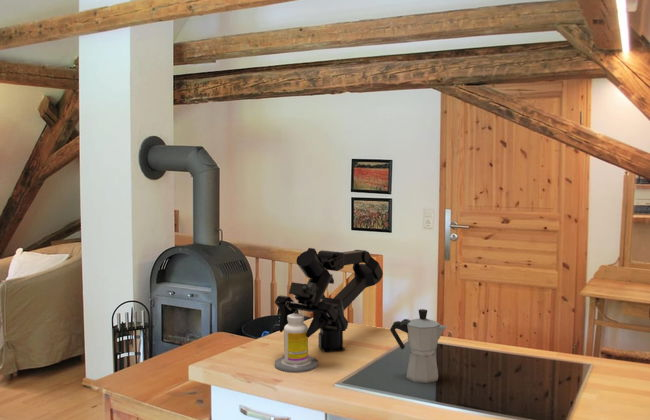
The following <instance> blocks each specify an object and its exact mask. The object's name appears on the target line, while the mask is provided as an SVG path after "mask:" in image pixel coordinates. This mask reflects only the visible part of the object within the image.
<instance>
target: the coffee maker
mask: <svg viewBox="0 0 650 420" xmlns="http://www.w3.org/2000/svg"><path fill="white" fill-rule="evenodd" d="M427 315H428V309H424V308H420V309H418V316H419V318H414V319H409V318H404V319H402V320H401V321H399V320H397V321H393V323H392V324H391V327H390V328H389V331H390V332H391V334H392V336H393V338H394V339H395V341H396V343H397V345H398V346H399V347H400V349H401V351H403V350H404V349H405V348H406V346H405V344H404V343H403V340H402V339H401V337H400V336H399V334H398V332H397V331H396V330H400V331H401V332H404V333H406V334H407V340H408V341H407V342H408V347H409V348H410V351H409V358H408V365H407V369H406V377H405V378H406V379H408V380H409V381H411V382H413V383H421V384H423V383H424V384H430V383H434V382H438V381H439V380H438V379H439V370H438V364H437V357H436V352H435V350H436V349H437V348H438V343H439V342H438V341H440V340H439V339H440V338H441V336H442V334H443V333H444V331H445V330H446V329H448V326H445V325H443V324H440V323H439V322H438V321H436V320H434V319H428V318H427Z"/></svg>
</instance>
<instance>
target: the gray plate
mask: <svg viewBox="0 0 650 420" xmlns="http://www.w3.org/2000/svg"><path fill="white" fill-rule="evenodd" d="M318 366H319V361H318V359H317V358H316V357H314V356H312V355H308V360H307V362H305V363H302V364H289V363H287V362H286V361H285V360H284V355H283V356H280V357H278V358H276V359H275V361H274V368H275V369H276V370H278V371H281V372H284V371H285V373H286V372H287V373H306V372H309V371H313V370H315V369H316V368H318Z"/></svg>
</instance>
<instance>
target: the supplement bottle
mask: <svg viewBox="0 0 650 420" xmlns="http://www.w3.org/2000/svg"><path fill="white" fill-rule="evenodd" d="M287 320H288V324H287V325H285V327H284V330H283V354H284V355H283V356H284V360H285V361H286V362H287V363H289V364H302V363H305V362H307V360H308V356H309V345H308V344H309V337H306V333H307V330H308V328H309V327H308V325H307V324H305V323H304V321H305V315H304V314H302V313H293V314H290V315H288V316H287Z"/></svg>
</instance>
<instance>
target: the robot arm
mask: <svg viewBox="0 0 650 420" xmlns="http://www.w3.org/2000/svg"><path fill="white" fill-rule="evenodd" d="M296 264H297V265H298V267H299V268H300V270H301V272H302V273H303V274H304V276H305V277H306V278H308V280H307V283H299V282H292V281H291V284H290V287H289V290H288V294H289V295H294V299H295V300H296V301H297V302H296V301H295V302H294V300H293V299H292V298H291V297H290V296H286V295H277V297H276V299H275V300H274V304H275V305H276V307H277V308H278V309H279V311H280V320H279V326H278V327H279V328H278V331H279V332H280V333H282V332H284V327H285V325H287V324H288V320H287V316H288V315H290V314H296V311H304V312H309V313H312V317H313V318H312V320H311V322H310V324H309V327H308V330H307V333H306V337H308V338H309V337H311V336H313V335H314V334H315V333H317V331H319V332H318V345H317V346H318V347H319V349H321V350H322V352H323V353H330V352H337V351H341V352H342V351H345V350H346V348H345V347H344V346H343V345H344V332H345V331H346V330H347V329H348V326H349V321H348V319H347V318H346V317H345V311H346V309H348V307H349V306H350V305H351V304H352V303H353V302H354V301H355V300H356V299H357V297H358V296H359V295H360V294H361V293H362V292H364V290H366V288H370V287H373V286H375V285H377V284H378V283H379V282H380V281H381V280H382V278H383V275H384V274H383V273H384V272H383V269H382V267H381V265H380V263H379V262H378V260H376V259H375V258H374V257H372V256H371V254H370V252H369V251H367V250H365V249H364V250H363V249H354V250H350V251H342V252H341V251H333V250H332V251H331V250H318V252H317V250H316V249H315V247H313V248H312V247H308V249H307V250H306V251H303V252H302V253H300V255H298V256H297V257H296ZM350 265H352V271H353V273H354V277H353V278H352V279H351V280H350V281H349V282H348V283H347V284H346V285H345V286H344V287H343V288H342V289H341V290H340V291H339V292H338V293H337V294H336V295H334V297H326V295H325V293H326V290H327V288H328V286H329V284H333V285H334V284H335V279H334V277H333V276H334V275H333V274H331V272H329V271H332V272H333V271H334V272H339V271H340V270H343V269H344V267H345V266H350Z"/></svg>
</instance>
